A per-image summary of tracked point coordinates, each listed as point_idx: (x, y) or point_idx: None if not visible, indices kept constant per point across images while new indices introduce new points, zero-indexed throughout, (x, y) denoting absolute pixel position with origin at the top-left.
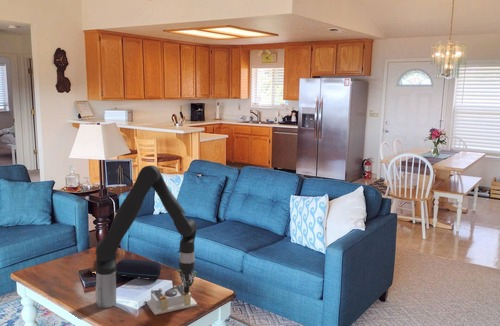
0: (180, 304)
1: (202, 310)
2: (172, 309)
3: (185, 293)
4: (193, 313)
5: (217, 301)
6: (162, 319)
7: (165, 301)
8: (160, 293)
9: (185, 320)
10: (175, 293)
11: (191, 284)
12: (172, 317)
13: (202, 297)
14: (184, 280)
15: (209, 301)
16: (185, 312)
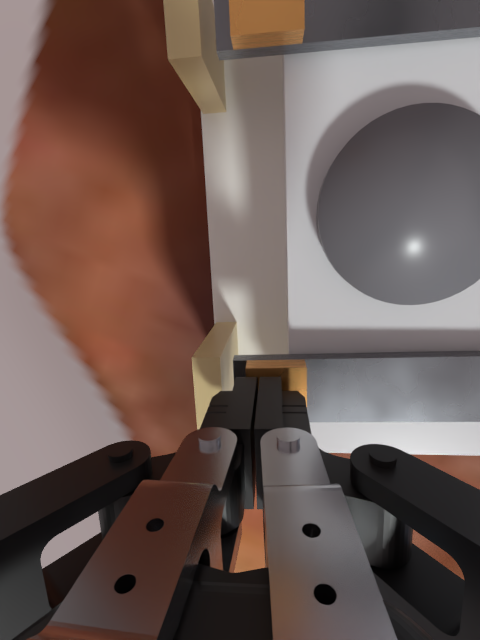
0: (260, 287)
1: (128, 433)
2: (207, 177)
3: None
4: (103, 348)
5: None
6: (80, 23)
7: (171, 28)
8: (469, 7)
9: (8, 241)
10: (347, 259)
11: (49, 571)
12: (90, 141)
13: None
14: (135, 521)
15: (252, 540)
16: (141, 290)
